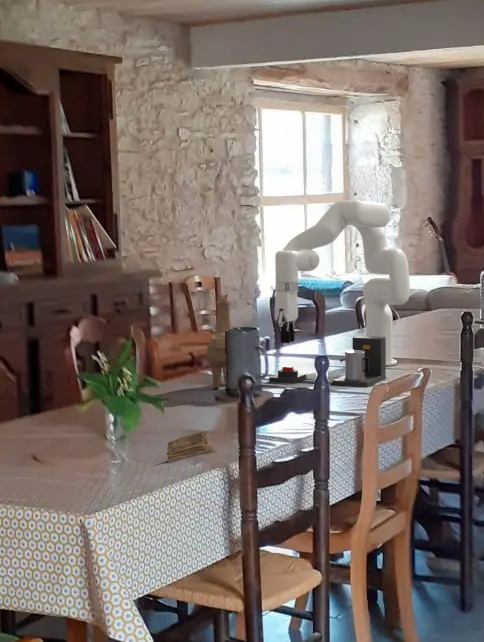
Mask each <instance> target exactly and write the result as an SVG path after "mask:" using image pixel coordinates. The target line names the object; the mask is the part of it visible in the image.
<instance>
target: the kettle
mask: <svg viewBox="0 0 484 642" xmlns="http://www.w3.org/2000/svg"><path fill="white" fill-rule="evenodd" d="M365 360H366V369H365ZM339 362H340V363H343V362H344V375H345V379H348V380H363V379H365V372H369V358H368V357H365V351H362V350H353V349H350V350H349V349H348V350H345V351H344V356H342V357H341V358H340V359H339Z"/></svg>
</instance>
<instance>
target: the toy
mask: <svg viewBox="0 0 484 642" xmlns="http://www.w3.org/2000/svg"><path fill="white" fill-rule="evenodd" d="M217 295H218V299H217V300H216V302H215V304H216V309H217V310H216V311H217V312H216V321H215V328H214V332H213V333H214V334H211V337H210V341H208V345H207V350H206V358H207V361H208V363H209V365H210V368H211V375H212V383H213V390H216V391H217V390H219V389H220V386H221V384H222V375H223V381H224V382H225V380H226V376H225V362H226V354H225V332H226V331H227V330H229V329H233V325H232V321H231V313H230V306H231V302H232V301H231V300H230V298H229V293H225V294H221V293H218V294H217Z"/></svg>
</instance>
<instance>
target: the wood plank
mask: <svg viewBox="0 0 484 642" xmlns="http://www.w3.org/2000/svg"><path fill="white" fill-rule="evenodd" d="M212 451H213V447H212V446H211V445H210V443H209V440H208V436H207V430H205V431H201V432H197V433H193V434H188V435H186V436H185V435H184V436H183V437H180V438H176V439H173V440H170V441H168V443H167V453H166V455H167V459H166V460H167V463H170V462H171V463H172V462H174V461H177V460H180V459H184V458H187V457H192V456H196V455H199V454H205V453H209V452H212Z"/></svg>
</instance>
